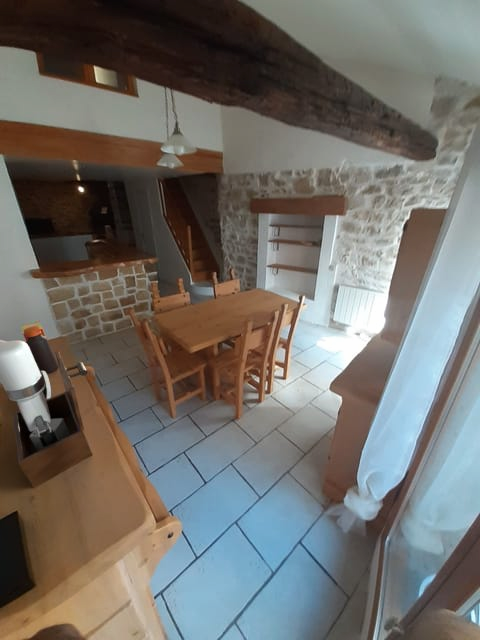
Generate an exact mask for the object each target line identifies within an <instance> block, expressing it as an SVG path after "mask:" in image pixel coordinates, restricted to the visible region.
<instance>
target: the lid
mask: <svg viewBox="0 0 480 640" xmlns="http://www.w3.org/2000/svg"><path fill="white" fill-rule="evenodd" d="M54 354H55V356H56V357H55V358H56V362H57V365H58V369H59V372H60V376H61V379H62V385H63V388H64V392H66V394H67V396H68V399H69V401H70V404H71V407H72V409H73V412H74V415H75V417H76V420H77V422H78V425H79V428H80V430H81V431H82V430H83V431H84V430H85V428H84V423H83V420H82V415H81V411H80V407H79V403H78V399H77V395H76V390H75V387H74V384H73V382H72V378H75V377H78V376H82V377H85V376H87V374H88V370H87V367H86V366H85V364H84V363H83V362H81V361H79V362H77V363H76V364H75V365H72V366H68V367H66V365H65V363H64V361H63V359H62V356H61V354H60V352H59V350H57V351H56V350H55V352H54ZM75 369H77V372H74V373H71V374H69V371H72V370H75Z"/></svg>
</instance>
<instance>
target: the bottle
mask: <svg viewBox="0 0 480 640" xmlns="http://www.w3.org/2000/svg"><path fill="white" fill-rule="evenodd" d="M24 334H25V336H26V337H27V338H28V339H27V341H26V340H25V343H26V344H27V345H28V346H29V348H30V350H31V353H32V355H33V357H34V360H35V362H36V364H37V366H38V369H39V371H45V372H46V373H47V375H49V374H50V375H51V374H52V373H54V372H56V371H57V370H58V369H59V365H58V361H57V359H56V357H55V355H54V353H53V350H52V348H51V345H50V343H49V341H48V338H47V337H45V336H46V335H45V336H43V335H41V331H40V328H39V327H37V326H34V327H29V328H27V329H25V330H24Z"/></svg>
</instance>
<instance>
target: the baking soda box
mask: <svg viewBox="0 0 480 640" xmlns="http://www.w3.org/2000/svg"><path fill="white" fill-rule="evenodd" d="M20 326H21V327H20V328H21V332H22V335H23V338H24V339H25V342H26V341H27V339H28V338H27V337H26V336H25V334H24V330H25V329H27V328H29V327H34V326H37V327H39V328H40V331H41V335H43V336H45V337H46V334H45V332H44V329H43V326H42V324H41V322H40V320H39V321H35V322H31V323H27V324H23V325H20ZM46 338H47V337H46Z"/></svg>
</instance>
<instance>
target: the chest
mask: <svg viewBox="0 0 480 640" xmlns="http://www.w3.org/2000/svg"><path fill="white" fill-rule="evenodd" d="M46 402H47V405H48V408H49V413H50V416H51V418H52V419H58V418H63V420H64V422H65V424H66V426H67V428H68V431H69V433H70V436H69V437H67V438H65V439H63V440H61V441H59V442H57V443H55V444H53V445H51V446H49V447H47V448H45V449H43V450H41V451H39V452H37V450H36V448H35V446H34V444H33V443H32V441H31V439H30V437H29V436H30V435H31V434H32V432H33V431H32V432H31V431H29V429H28V427H27V424H26V422H25V420H24V418H23V416H22V414H21V411H20V409H19V410H17V411H15V412H13V413H12V415H13V423H14V433H15V435H14V436H15V442H16V451H17V461H18V465H19V467H20V469H21V470H22V472H23V473H24V475H25V476H26V478H27V479H28V481H29V483H30V484H31V486H32V487H33V488H34V489H35V488H37V487H39V486H41V485H42V484H44V483H46V482H47V481H49V480H51V479H53V478H55V477H56V476H58V475H60V474H62V473H63V472H65V471H67V470H68V469H71V468H72V467H74V466H76V465H77V464H80V462H83V461H84V460H86V459H88V458H90V457H92V456H93V453H92V450H91V447H90V445H89V442H88V439H87V437H86V435H85V432H84V430H82V431H81V430H80V428H79V425H78V422H77V420H76V417H75V415H74V412H73V409H72V407H71V404H70V401H69V399H68V396H67V394H66V391H64V392H61V393H59V394H57V395H54V396H51V398H49V399H47V400H46Z"/></svg>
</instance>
